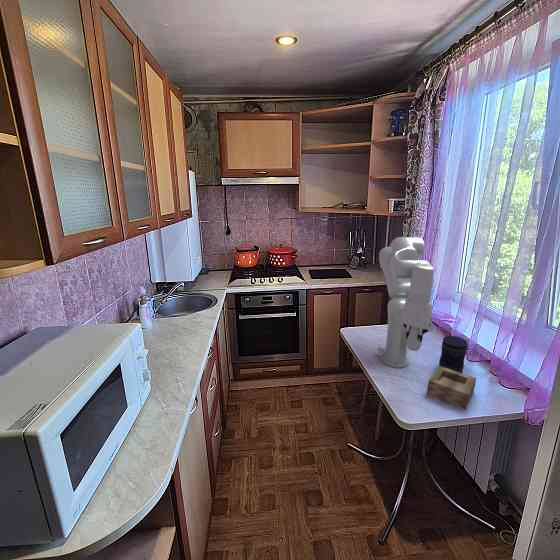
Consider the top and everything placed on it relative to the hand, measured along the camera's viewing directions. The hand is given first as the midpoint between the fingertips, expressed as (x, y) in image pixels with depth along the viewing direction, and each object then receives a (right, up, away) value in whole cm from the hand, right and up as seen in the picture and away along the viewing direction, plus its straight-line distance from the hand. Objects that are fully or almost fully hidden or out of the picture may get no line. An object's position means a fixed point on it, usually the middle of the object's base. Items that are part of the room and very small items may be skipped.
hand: (413, 341), depth 126 cm
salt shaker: (0, -3, +1) cm, 3 cm away
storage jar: (+25, -17, +19) cm, 36 cm away
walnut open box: (+16, -22, +4) cm, 28 cm away
